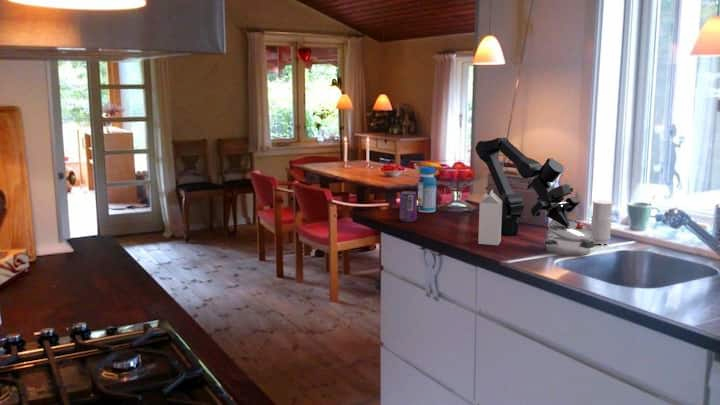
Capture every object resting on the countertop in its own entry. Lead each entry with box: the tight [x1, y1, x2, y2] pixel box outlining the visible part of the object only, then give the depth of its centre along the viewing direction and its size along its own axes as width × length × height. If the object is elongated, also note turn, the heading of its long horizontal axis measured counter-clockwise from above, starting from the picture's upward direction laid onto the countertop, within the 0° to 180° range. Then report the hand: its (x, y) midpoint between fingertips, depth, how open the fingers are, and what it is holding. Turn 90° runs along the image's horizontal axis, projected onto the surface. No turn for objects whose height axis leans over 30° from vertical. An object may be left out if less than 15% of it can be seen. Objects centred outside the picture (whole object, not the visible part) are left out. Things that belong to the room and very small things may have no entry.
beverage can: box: [399, 190, 418, 223], centre depth 268 cm, size 7×7×12 cm
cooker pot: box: [544, 232, 595, 257], centre depth 218 cm, size 16×20×5 cm
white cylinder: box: [590, 199, 614, 245], centre depth 229 cm, size 7×7×15 cm
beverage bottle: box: [417, 165, 438, 213], centre depth 289 cm, size 8×8×20 cm
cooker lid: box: [547, 219, 592, 241], centre depth 218 cm, size 14×14×2 cm
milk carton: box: [477, 189, 502, 246], centre depth 229 cm, size 7×7×19 cm
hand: (568, 226), depth 218 cm, fingers closed, pressing on cooker lid
